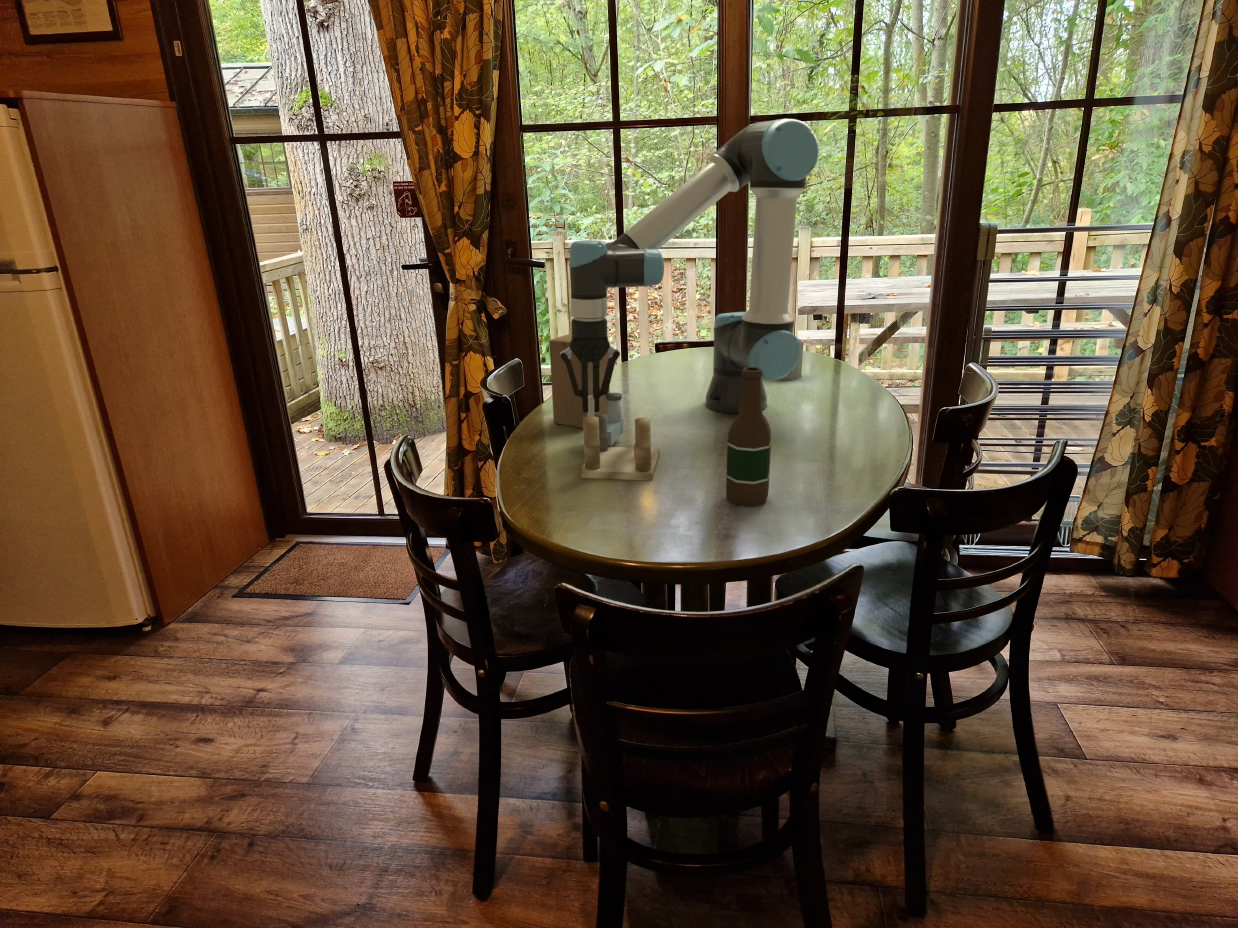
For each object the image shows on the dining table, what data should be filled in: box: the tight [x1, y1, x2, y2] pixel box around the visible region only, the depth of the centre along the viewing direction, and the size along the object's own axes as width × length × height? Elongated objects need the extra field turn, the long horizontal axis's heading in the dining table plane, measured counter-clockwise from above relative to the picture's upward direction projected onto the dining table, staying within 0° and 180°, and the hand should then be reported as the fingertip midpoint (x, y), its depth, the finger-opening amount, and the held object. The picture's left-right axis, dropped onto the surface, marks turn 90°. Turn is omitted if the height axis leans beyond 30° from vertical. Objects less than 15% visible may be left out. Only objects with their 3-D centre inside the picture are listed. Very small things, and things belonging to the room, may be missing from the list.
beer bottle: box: [725, 367, 772, 508], centre depth 137 cm, size 8×8×24 cm
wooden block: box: [548, 332, 611, 429], centre depth 184 cm, size 10×10×20 cm
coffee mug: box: [778, 338, 804, 381], centre depth 221 cm, size 13×10×10 cm
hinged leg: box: [606, 392, 625, 447], centre depth 168 cm, size 3×10×9 cm, turn 164°
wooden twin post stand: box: [580, 414, 661, 481], centre depth 156 cm, size 14×14×12 cm
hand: (591, 426), depth 171 cm, fingers closed
